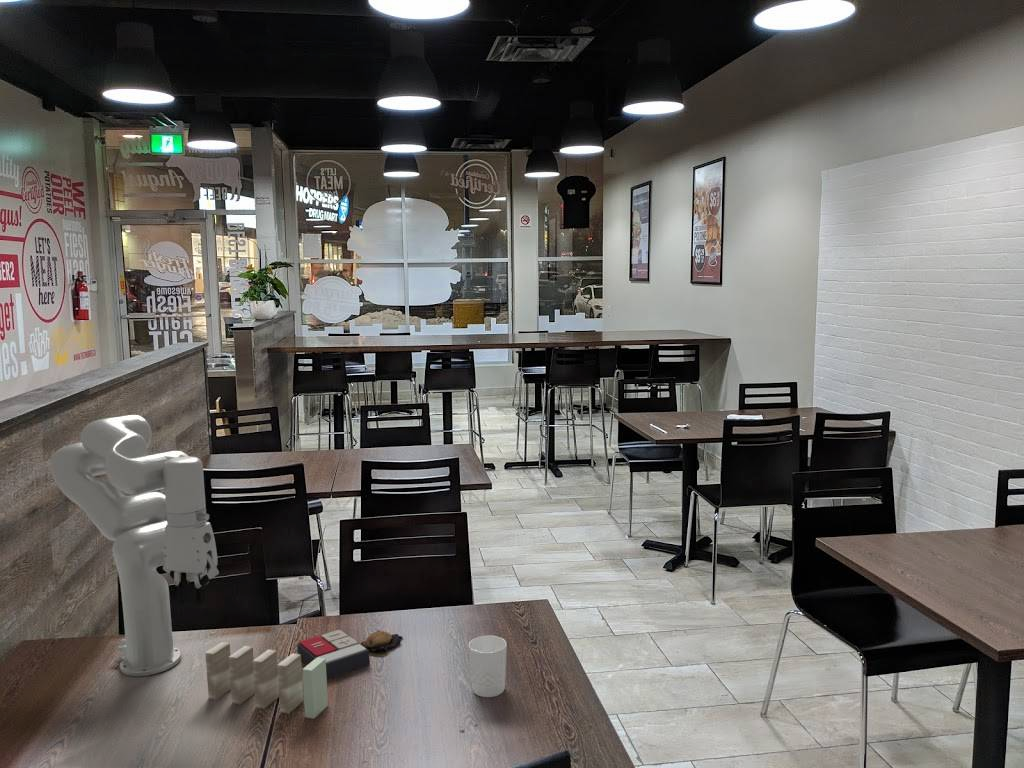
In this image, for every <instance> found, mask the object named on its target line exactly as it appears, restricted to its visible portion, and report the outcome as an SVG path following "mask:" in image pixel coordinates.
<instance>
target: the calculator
mask: <svg viewBox="0 0 1024 768" xmlns="http://www.w3.org/2000/svg"><path fill="white" fill-rule="evenodd" d="M296 647H297V654H299V655H301V661H304V663H305V664H306V665H308V664H309V663H311V662H312V661H313V660H314V659H316V658H317V657H318V658H324V659H326V677H327V680H329V679H332V678H335V677H338V676H341V675H344V674H347V673H349V672H353V671H355V670H359V669H363V668H364V667H367V666H370V663H371V662H370V661H371V660H370V655H369V650H368V649H366V648H365V647H363V646H362V645H361V643H359V642H358V641H357V640H355V639H354V638H352V637H351V636H350V635H348V634H347V633H345V632H344V631H342V630H341V629H337V630H333V631H331V632H327V633H324V634H322V635H321V636H319V635H317V636H314V637H310V638H308V639H304V640H300V641H299V642H298V643H297V645H296Z"/></svg>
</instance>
